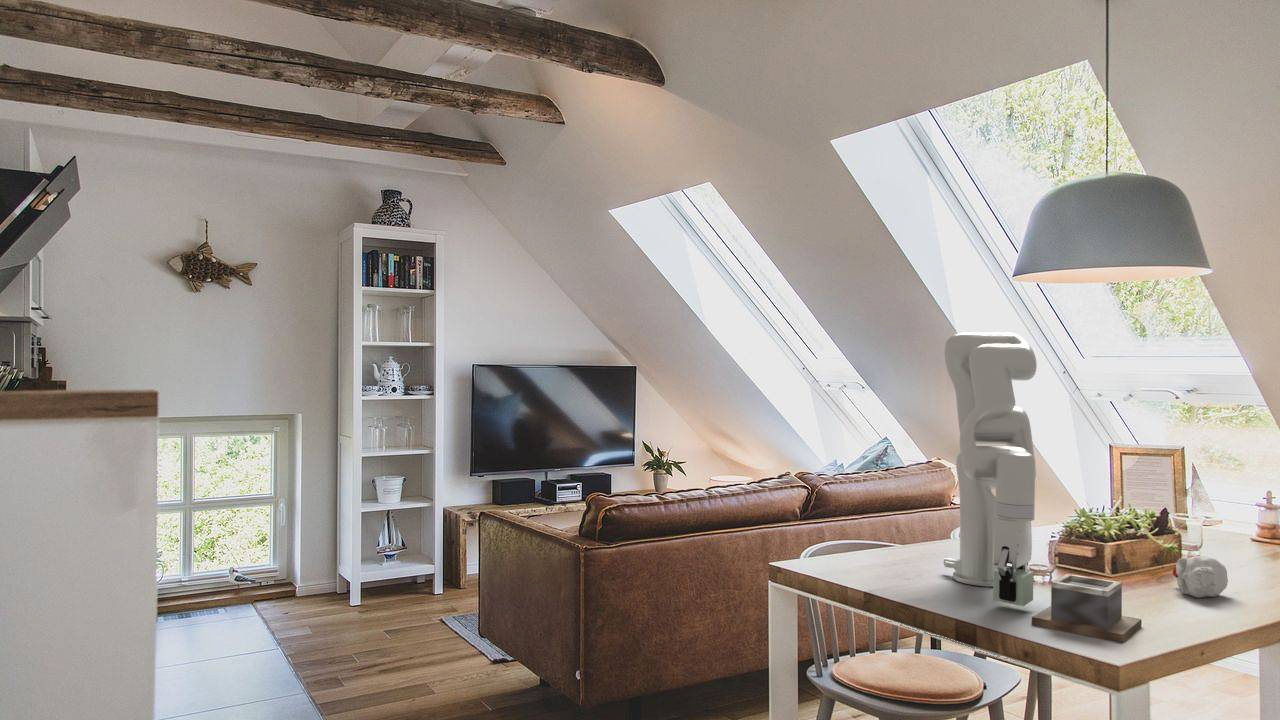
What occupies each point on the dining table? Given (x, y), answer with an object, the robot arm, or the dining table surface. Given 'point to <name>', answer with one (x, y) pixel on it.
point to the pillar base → (1089, 630)
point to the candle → (1200, 576)
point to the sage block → (1017, 587)
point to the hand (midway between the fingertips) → (1013, 595)
